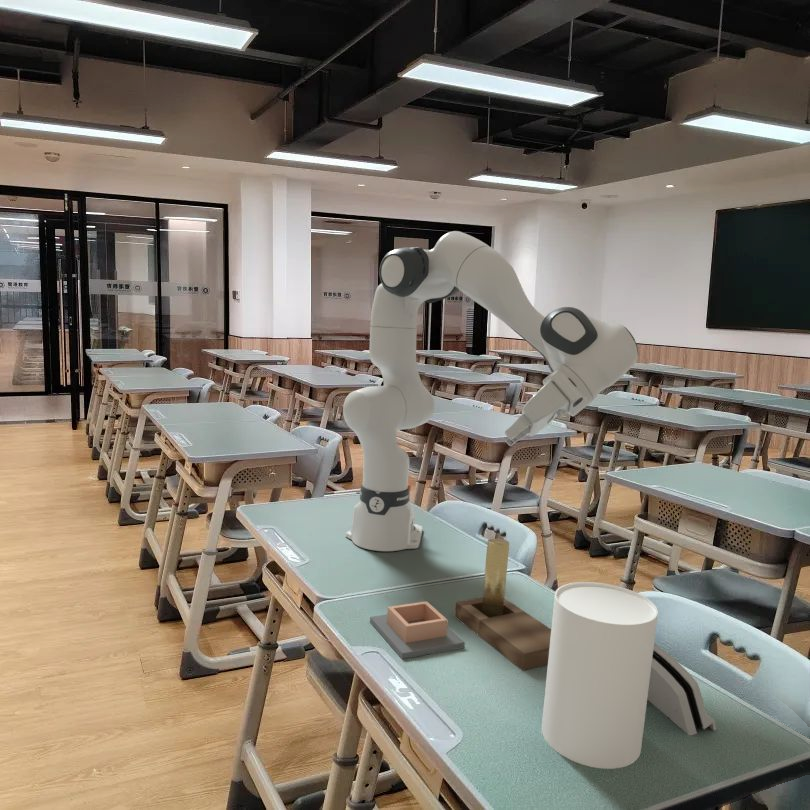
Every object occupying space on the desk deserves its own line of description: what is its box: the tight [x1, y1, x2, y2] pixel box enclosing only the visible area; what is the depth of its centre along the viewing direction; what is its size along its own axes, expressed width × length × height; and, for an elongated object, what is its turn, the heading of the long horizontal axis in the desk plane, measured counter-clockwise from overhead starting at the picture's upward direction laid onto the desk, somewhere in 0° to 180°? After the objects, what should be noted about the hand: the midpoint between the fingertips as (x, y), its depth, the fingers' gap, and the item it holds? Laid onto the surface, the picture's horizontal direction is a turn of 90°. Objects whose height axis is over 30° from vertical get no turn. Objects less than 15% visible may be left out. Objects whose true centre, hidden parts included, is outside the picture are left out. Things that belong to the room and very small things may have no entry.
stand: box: [369, 601, 466, 660], centre depth 123 cm, size 14×12×4 cm
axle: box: [482, 538, 510, 618], centre depth 128 cm, size 4×4×16 cm
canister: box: [541, 581, 659, 770], centre depth 95 cm, size 14×14×20 cm
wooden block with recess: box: [454, 596, 551, 671], centre depth 124 cm, size 21×10×3 cm, turn 28°
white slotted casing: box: [647, 643, 717, 736], centre depth 106 cm, size 17×5×10 cm, turn 19°
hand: (507, 439), depth 128 cm, fingers open, 8 cm apart
